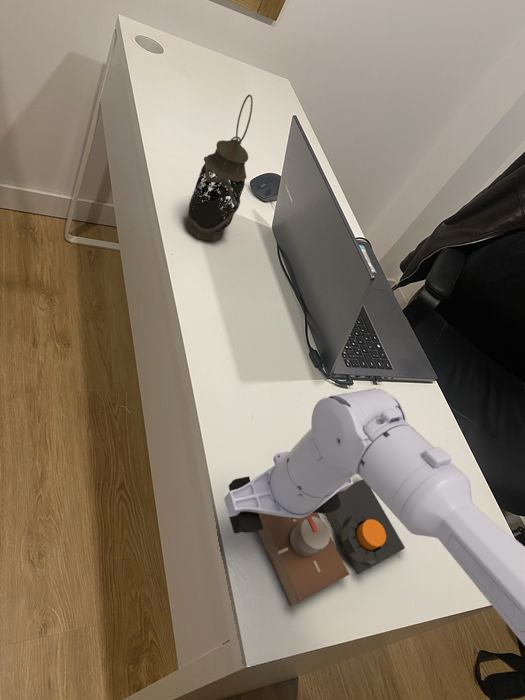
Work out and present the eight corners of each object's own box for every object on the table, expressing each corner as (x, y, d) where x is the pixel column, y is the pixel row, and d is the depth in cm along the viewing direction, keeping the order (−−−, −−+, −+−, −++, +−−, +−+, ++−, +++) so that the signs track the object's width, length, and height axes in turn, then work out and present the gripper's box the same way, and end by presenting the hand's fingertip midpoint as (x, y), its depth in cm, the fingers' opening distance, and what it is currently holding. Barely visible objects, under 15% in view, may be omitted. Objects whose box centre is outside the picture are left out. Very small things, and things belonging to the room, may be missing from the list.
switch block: (396, 552, 72) (412, 544, 69) (350, 578, 67) (365, 570, 64) (358, 483, 77) (371, 473, 74) (311, 503, 72) (324, 492, 69)
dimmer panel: (339, 579, 66) (350, 573, 64) (290, 606, 62) (301, 601, 59) (298, 497, 71) (307, 488, 69) (250, 516, 67) (258, 508, 65)
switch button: (384, 544, 68) (390, 540, 66) (365, 554, 66) (372, 550, 64) (370, 519, 69) (376, 515, 68) (351, 528, 67) (357, 524, 66)
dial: (323, 550, 65) (336, 541, 62) (299, 561, 62) (312, 553, 60) (308, 521, 66) (321, 511, 64) (284, 531, 64) (296, 522, 61)
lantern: (182, 209, 102) (223, 74, 81) (224, 219, 105) (274, 91, 84) (183, 240, 96) (228, 103, 76) (228, 250, 99) (282, 121, 79)
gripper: (354, 424, 54) (303, 475, 64) (234, 443, 47) (197, 496, 57) (383, 485, 50) (323, 529, 60) (257, 515, 44) (213, 558, 53)
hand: (263, 517), depth 58 cm, fingers open, 7 cm apart
